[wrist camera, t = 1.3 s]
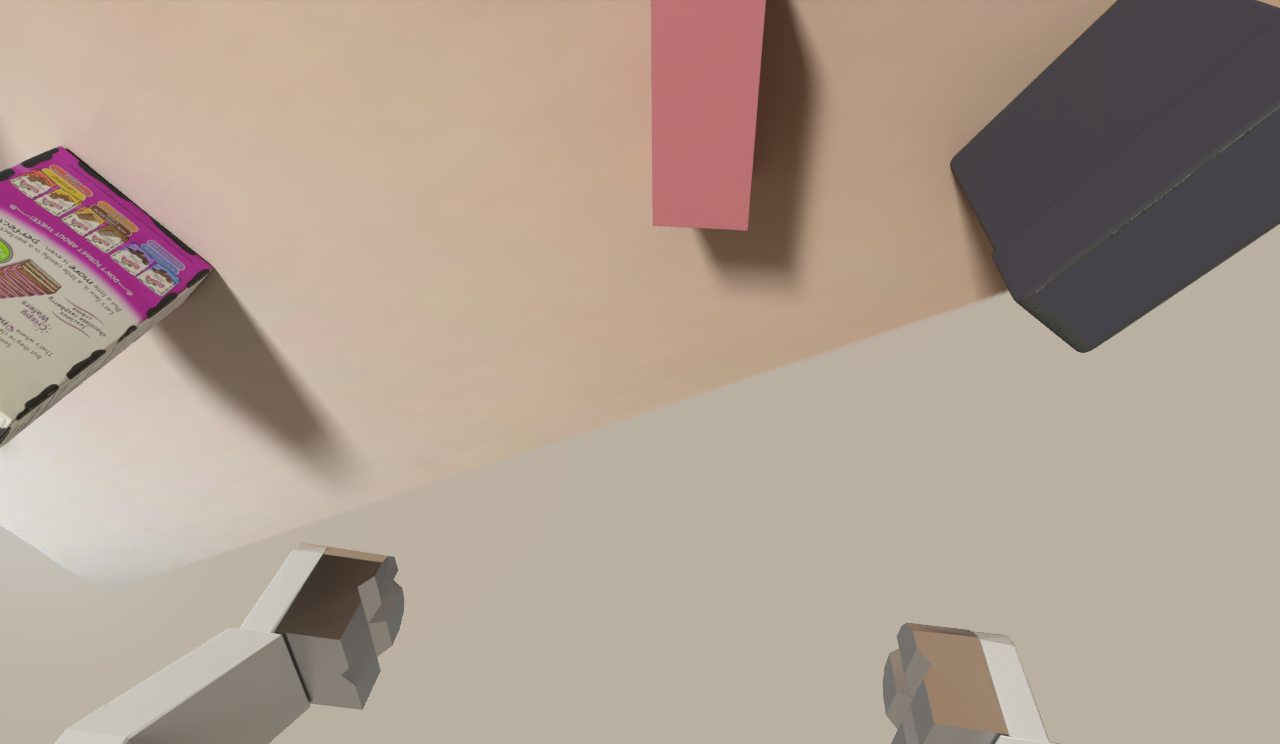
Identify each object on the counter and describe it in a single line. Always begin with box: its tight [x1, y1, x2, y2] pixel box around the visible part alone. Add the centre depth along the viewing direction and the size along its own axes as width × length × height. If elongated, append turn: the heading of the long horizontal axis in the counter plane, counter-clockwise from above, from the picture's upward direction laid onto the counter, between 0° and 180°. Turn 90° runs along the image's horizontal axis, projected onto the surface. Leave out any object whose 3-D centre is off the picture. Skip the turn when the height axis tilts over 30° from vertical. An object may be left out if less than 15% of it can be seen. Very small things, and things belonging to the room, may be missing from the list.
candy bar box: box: [0, 146, 212, 448], centre depth 41 cm, size 11×5×16 cm, turn 42°
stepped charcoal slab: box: [950, 0, 1280, 353], centre depth 28 cm, size 11×4×15 cm, turn 145°
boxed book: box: [651, 0, 766, 231], centre depth 33 cm, size 4×11×7 cm, turn 1°
